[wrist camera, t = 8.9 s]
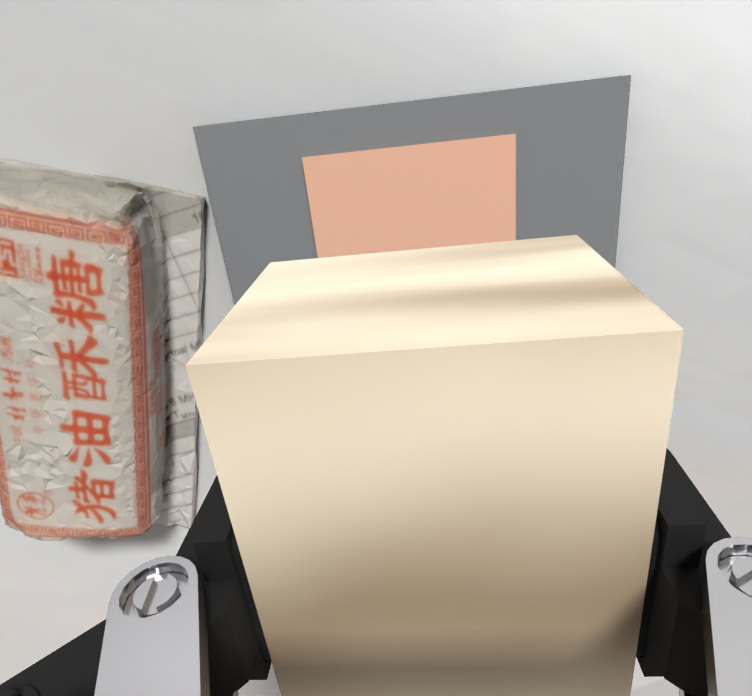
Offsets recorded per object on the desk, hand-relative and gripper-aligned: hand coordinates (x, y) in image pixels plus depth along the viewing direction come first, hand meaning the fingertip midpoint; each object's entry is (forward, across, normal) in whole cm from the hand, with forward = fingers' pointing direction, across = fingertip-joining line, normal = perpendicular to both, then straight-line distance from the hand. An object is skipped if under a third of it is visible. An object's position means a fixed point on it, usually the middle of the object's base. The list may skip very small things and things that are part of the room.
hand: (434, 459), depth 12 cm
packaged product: (+13, +16, +3) cm, 21 cm away
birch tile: (+1, 0, 0) cm, 1 cm away
